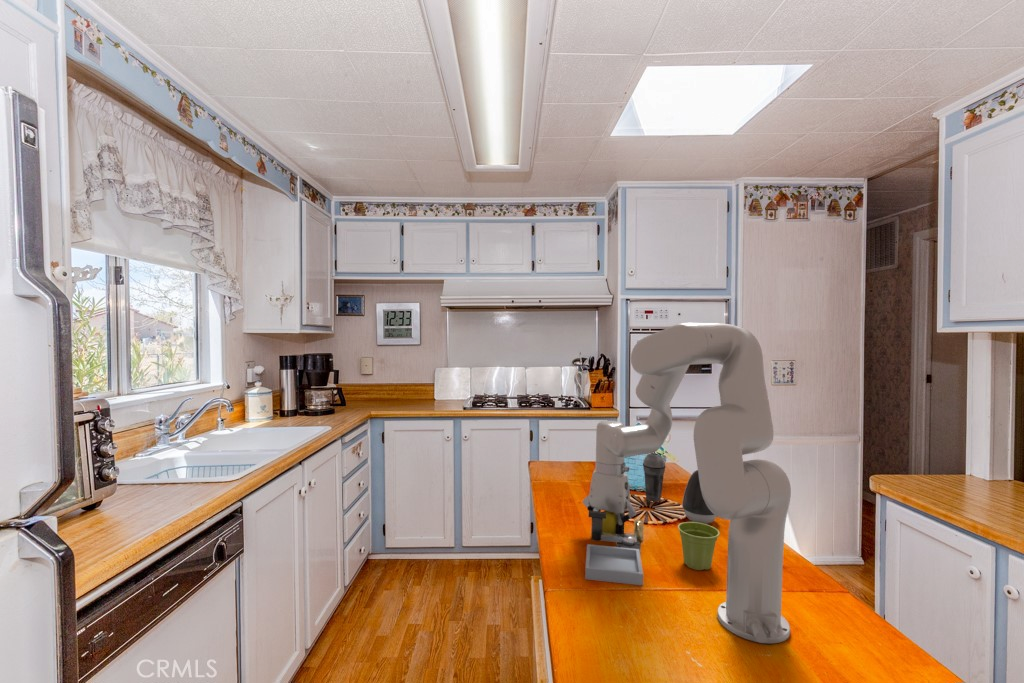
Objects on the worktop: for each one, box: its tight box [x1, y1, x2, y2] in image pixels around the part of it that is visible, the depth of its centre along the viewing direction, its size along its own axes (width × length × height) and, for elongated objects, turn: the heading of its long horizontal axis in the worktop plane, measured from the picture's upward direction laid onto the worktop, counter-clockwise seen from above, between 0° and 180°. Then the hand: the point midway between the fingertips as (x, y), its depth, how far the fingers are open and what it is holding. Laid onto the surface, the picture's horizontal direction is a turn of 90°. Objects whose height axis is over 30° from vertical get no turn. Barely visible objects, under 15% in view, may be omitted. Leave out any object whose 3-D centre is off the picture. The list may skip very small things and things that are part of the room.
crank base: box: [615, 518, 644, 554], centre depth 128 cm, size 12×7×5 cm, turn 170°
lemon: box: [602, 510, 618, 534], centre depth 132 cm, size 6×6×8 cm
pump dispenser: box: [682, 469, 717, 525], centre depth 146 cm, size 10×10×15 cm
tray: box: [584, 543, 644, 586], centre depth 116 cm, size 13×13×2 cm
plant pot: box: [677, 521, 720, 571], centre depth 119 cm, size 9×9×9 cm
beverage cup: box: [642, 452, 666, 503], centre depth 163 cm, size 7×7×20 cm
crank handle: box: [588, 511, 637, 545], centre depth 126 cm, size 12×4×7 cm, turn 80°
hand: (608, 534), depth 132 cm, fingers closed on lemon, 5 cm apart
